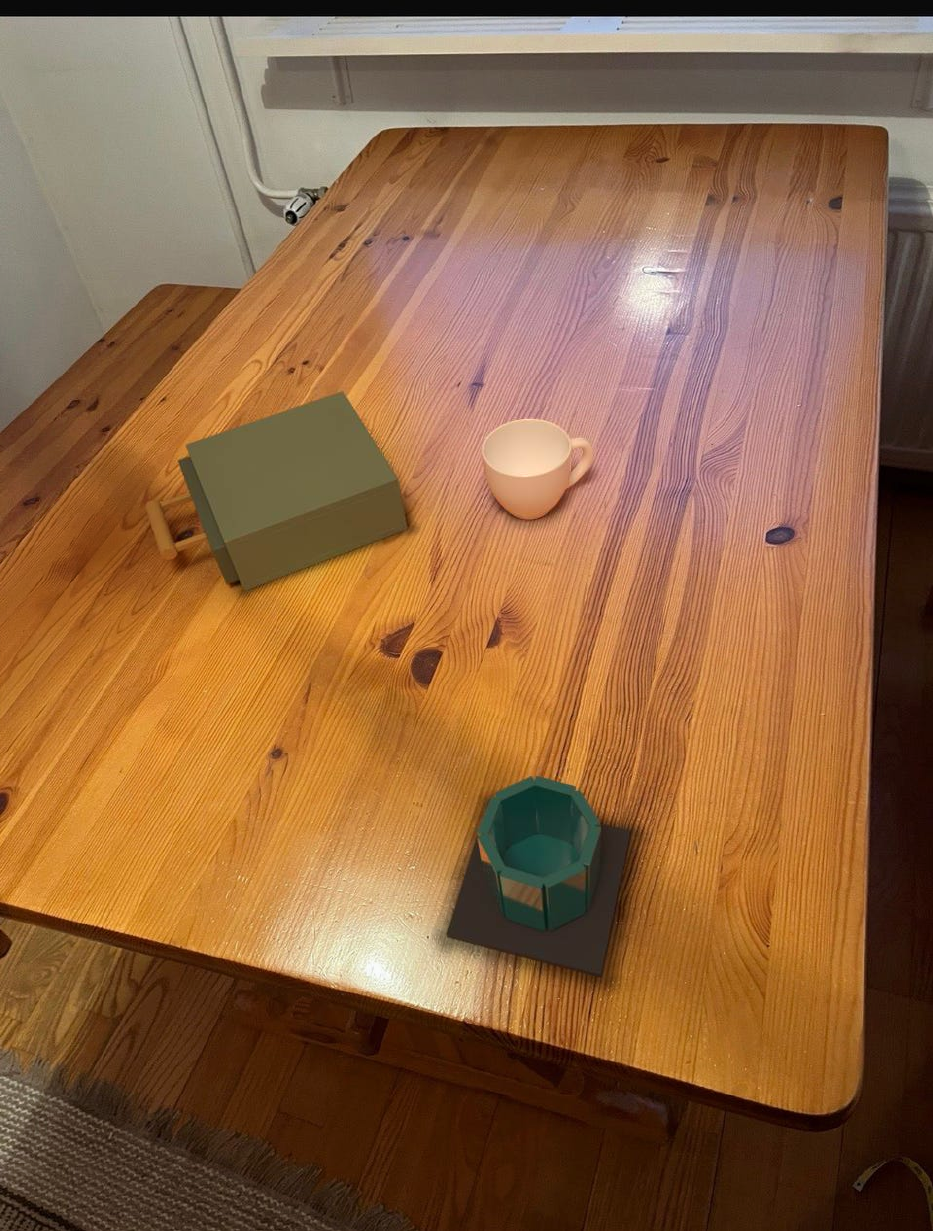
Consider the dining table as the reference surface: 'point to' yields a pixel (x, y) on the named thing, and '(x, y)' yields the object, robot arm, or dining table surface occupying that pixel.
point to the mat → (562, 946)
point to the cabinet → (297, 489)
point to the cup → (532, 465)
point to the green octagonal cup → (540, 852)
